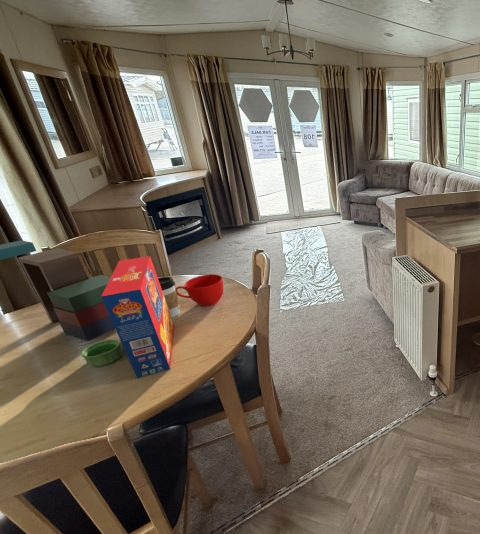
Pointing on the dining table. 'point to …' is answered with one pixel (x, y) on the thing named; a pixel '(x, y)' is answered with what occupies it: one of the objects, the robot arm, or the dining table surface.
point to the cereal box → (140, 315)
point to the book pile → (83, 308)
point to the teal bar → (16, 249)
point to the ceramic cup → (204, 289)
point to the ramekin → (102, 352)
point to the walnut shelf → (52, 274)
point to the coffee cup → (170, 295)
